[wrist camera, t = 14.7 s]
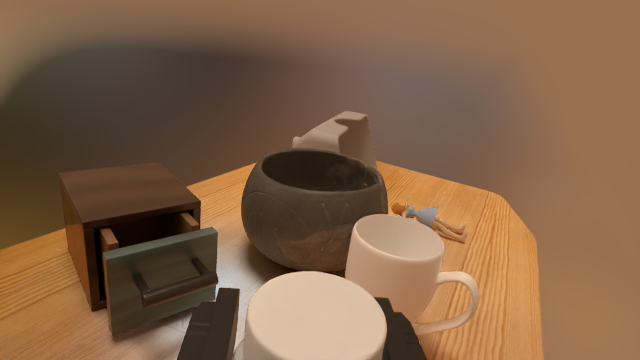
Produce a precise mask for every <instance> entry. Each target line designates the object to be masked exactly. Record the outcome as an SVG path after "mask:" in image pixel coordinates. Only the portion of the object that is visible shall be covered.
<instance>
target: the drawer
mask: <svg viewBox="0 0 640 360" xmlns="http://www.w3.org/2000/svg"><path fill="white" fill-rule="evenodd" d="M93 229H94V239H95V249H96V259H97V269H98V278H99V281H100V283H101V285H102V288H103V290H104V292H105V294H106V298H107V310H108V321H109V329H110V331H111V334H112V336H116V335H119V334H121V333H124V332H127V331H130V330H132V329H135V328H138V327H141V326H143V325H146V324H149V323H152V322H154V321H157V320H160V319H163V318H165V317H168V316H171V315H174V314H176V313H179V312H182V311H185V310H187V309H190V308H193V307H196V306H198V305H200V304H201V302H202V301H204V302H209V301H212V300H215V291H216V285H217V284H218V277H217V274H216V264H217V236H218V232H217V231H216V230H215V229H214V228H213V227H210V228H206V229H201V230H199V224H198V222H197V221H196V220H195V219H194V218H193V217H192V216H191V215H190V214H189V213H188V212H187V211H186V210H185V211H180V212H174V213H169V214H164V215H159V216H154V217H148V218H143V219H138V220H133V221H128V222H122V223H117V224H112V225H107V226H102V227H96V228H93Z"/></svg>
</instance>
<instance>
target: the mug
mask: <svg viewBox="0 0 640 360" xmlns="http://www.w3.org/2000/svg"><path fill="white" fill-rule="evenodd" d="M444 251H445V247H444V243H443V241H442V239H441V237H440V236H439V235H438V234H437V233H436V232H435V231H433V230H432V229H430V228H429V227H427V226H425V225H424V224H422V223H419V222H417V221H414V220H412V219H409V218H405V217H401V216H396V215H388V214H375V215H369V216H366V217H363V218H361V219H360V220H358V221H357V222H356V224H355V225H354V228H353V231H352V236H351V241H350V246H349V252H348V257H347V263H346V271H345V279H347V280H349V281H352V282H353V283H355V284H357V285H359V286H360V287H362V288H363V289H365V290H366V291H367V292H368V293H369V294H370V295H371V296H372V297H384V298H388V299H389V301H390V303H391V306H392V308H393V311H394V312H402V314H403V315H404V316H405V317H406V318H407V319H408V320H409V321H410V322H411V324H412V326H413V329H414V331H415V333H416V334H428V333H434V332H440V331H446V330H450V329H454V328H457V327H459V326H461V325H463V324H465V323H466V322H468V321H469V320H470V319H471V317H472V316H473V315H474V313H475V311H476V309H477V306H478V301H479V291H478V287H477V284H476V282H475V280H474V279H473V278H472V277H471V276H470V275H469V274H467V273H465V272H460V271H453V272H444V273H441V265H442V261H443V257H444ZM448 282H461V283H463V284H464V285H465V286H466V287H467V288H468V290H469V291H470V294H471V303H470V305H469V307H468V309H467V310H466V311H465V312H464V313H463V314H462V315H460V316H457V317H455V318H452V319H448V320H444V321H439V322H434V323H428V324H417V323H415V322H416V320H417V319H418V318H419V317H420V316H421V314H422V313H423V312H424V310H425V309H426V307H427V306H428V304H429V302H430V301H431V299H432V297H433V295H434V293H435V290H436V288H437V286H439V285H442V284H445V283H448Z"/></svg>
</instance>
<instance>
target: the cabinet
mask: <svg viewBox="0 0 640 360" xmlns="http://www.w3.org/2000/svg"><path fill="white" fill-rule="evenodd" d="M59 179H60V187H61V195H62V203H63V211H64V219H65V226H66V235H67V242H68V249H69V251H70V254H71V257H72V259H73V262H74V265H75V267H76V270H77V273H78V275H79V278H80V281H81V283H82V286H83V289H84V291H85V294H86V297H87V299H88V302H89V305H90V307H91V310H92V311H95V310H98V309H101V308H105V307H107V298H106V294H105V292H104V290H103V288H102V285H101V283H100V281H99V278H98V269H97V259H96V249H95V239H94V229H93V228H96V227H102V226H107V225H112V224H117V223H122V222H128V221H133V220H138V219H143V218H148V217H154V216H159V215H164V214H169V213H174V212H180V211H185V210H186V211H187V212H188V213H189V214H190V215H191V216H192V217H193V218H194V219H195V220H196V221H197V222H198V224H199V230H200V212H201V208H200V207H201V201H200V200H199V199H198V198H197V197H196V196H195V195H194V194H193V193H192V192H190V191H189V190H188V189H187V188H186V187H185V186H184V185H183V184H182V183H181V182H180V181H178V179H176V178H175V177H174V176H173V175H172V174H171V173H170V172H169V171H168V170H167V169H166V168H165V167H164V166H163V165H161V164H160V163H159V162H156V163H146V164H137V165H128V166H119V167H108V168H99V169H90V170H80V171H71V172H62V173H59Z"/></svg>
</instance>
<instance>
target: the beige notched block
mask: <svg viewBox="0 0 640 360" xmlns="http://www.w3.org/2000/svg"><path fill="white" fill-rule="evenodd" d="M292 148H313V149H322V150H329V151H333V152H337V153H343V154H346V155H348V156H351V157H353V158H358V159H360V160H362V161H363V162H366V163H367V165H370V166H372V167H373V168H375V169H376V170H377V165H376V160H375V154H374V148H373V143H372V137H371V130H370V124H369V119H368V116H367V115H366V114H360V113H355V112H350V111H345V112H343V113H341V114H339V115H337V116H336V117H334V118H332V119H330V120H328V121H326V122H325V123H323V124H321V125H319V126H317V127H315V128H314V129H312V130H311V131H309V132H308V133H307V134H305V135H304V136H303V137H301V138H300V137H295V138H294V139H293V143H292Z"/></svg>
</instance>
